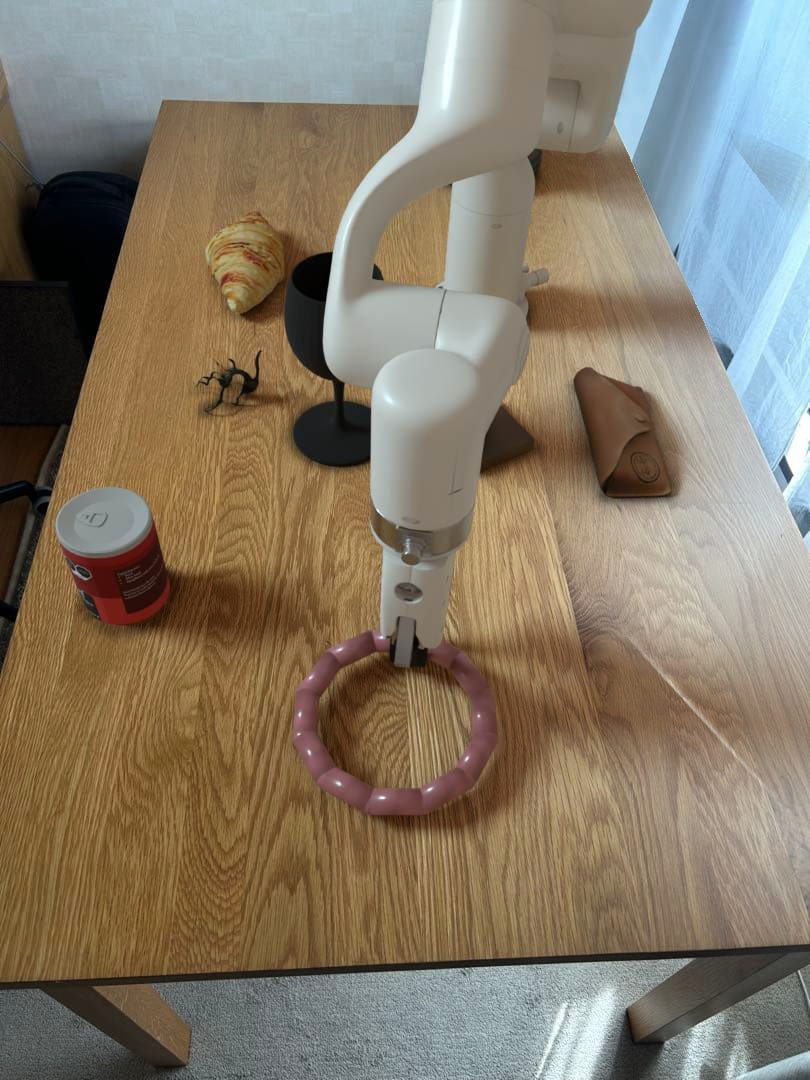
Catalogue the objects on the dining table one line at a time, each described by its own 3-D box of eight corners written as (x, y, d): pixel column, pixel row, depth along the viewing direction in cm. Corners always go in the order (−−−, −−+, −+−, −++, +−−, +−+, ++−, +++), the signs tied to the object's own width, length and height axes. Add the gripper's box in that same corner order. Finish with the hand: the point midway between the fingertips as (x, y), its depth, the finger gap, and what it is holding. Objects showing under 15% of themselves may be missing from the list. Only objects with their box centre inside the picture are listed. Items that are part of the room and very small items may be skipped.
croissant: (264, 344, 115) (291, 298, 109) (189, 312, 111) (212, 263, 105) (275, 250, 128) (299, 205, 123) (208, 218, 124) (230, 170, 119)
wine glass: (399, 416, 102) (406, 260, 87) (367, 477, 95) (369, 320, 80) (314, 393, 104) (307, 237, 89) (277, 452, 97) (262, 294, 82)
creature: (189, 419, 102) (254, 418, 100) (172, 381, 98) (239, 379, 96) (213, 376, 107) (275, 374, 105) (197, 338, 103) (261, 336, 101)
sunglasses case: (679, 493, 95) (661, 454, 90) (615, 517, 97) (594, 480, 93) (641, 383, 107) (623, 344, 102) (585, 407, 109) (565, 369, 104)
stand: (486, 402, 104) (496, 334, 97) (533, 449, 99) (547, 381, 92) (421, 427, 101) (426, 359, 94) (466, 477, 96) (475, 410, 89)
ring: (427, 609, 82) (428, 596, 80) (534, 756, 73) (538, 745, 72) (260, 688, 76) (258, 676, 74) (355, 858, 67) (355, 848, 66)
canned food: (90, 566, 86) (61, 487, 78) (175, 563, 87) (155, 484, 78) (78, 632, 81) (46, 555, 73) (168, 628, 82) (147, 551, 74)
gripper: (459, 606, 60) (440, 736, 74) (485, 439, 70) (464, 582, 84) (348, 588, 60) (350, 721, 74) (390, 426, 70) (385, 570, 84)
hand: (410, 646), depth 79 cm, fingers closed on ring, 2 cm apart
